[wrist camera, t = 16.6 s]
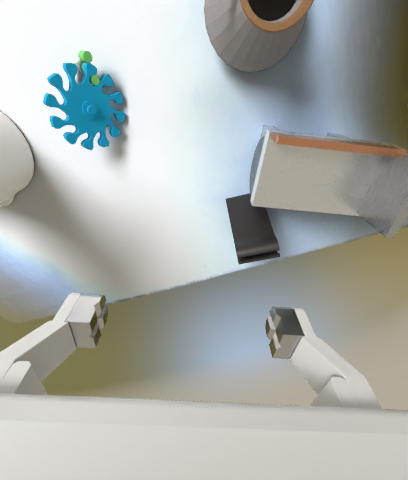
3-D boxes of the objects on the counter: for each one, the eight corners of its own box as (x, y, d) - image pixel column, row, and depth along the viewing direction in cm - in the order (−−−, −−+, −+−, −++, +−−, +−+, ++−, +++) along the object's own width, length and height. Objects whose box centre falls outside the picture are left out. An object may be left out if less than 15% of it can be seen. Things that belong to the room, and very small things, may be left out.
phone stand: (264, 233, 46) (281, 275, 36) (233, 239, 47) (242, 282, 37) (259, 190, 41) (277, 225, 31) (225, 198, 42) (232, 234, 32)
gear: (123, 154, 36) (48, 146, 29) (104, 145, 40) (32, 135, 32) (132, 68, 32) (46, 33, 24) (110, 65, 35) (27, 34, 28)
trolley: (239, 186, 41) (258, 241, 27) (253, 118, 35) (285, 143, 21) (324, 195, 42) (384, 252, 28) (350, 130, 36) (442, 161, 22)
